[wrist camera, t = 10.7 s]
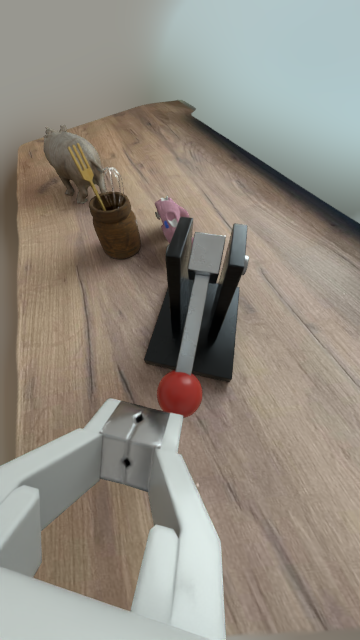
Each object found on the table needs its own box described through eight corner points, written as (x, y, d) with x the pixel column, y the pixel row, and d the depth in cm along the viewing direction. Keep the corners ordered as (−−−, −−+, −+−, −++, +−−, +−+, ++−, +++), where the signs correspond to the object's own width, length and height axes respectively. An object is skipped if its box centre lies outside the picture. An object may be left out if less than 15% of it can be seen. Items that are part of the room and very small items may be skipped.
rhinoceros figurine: (73, 208, 31) (18, 80, 25) (73, 222, 43) (34, 137, 36) (118, 199, 34) (78, 82, 28) (106, 214, 45) (76, 134, 39)
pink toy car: (168, 231, 35) (145, 196, 29) (190, 217, 33) (171, 178, 28) (180, 268, 30) (156, 236, 24) (206, 254, 29) (188, 216, 23)
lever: (197, 413, 15) (197, 432, 12) (157, 403, 15) (147, 419, 12) (227, 255, 16) (234, 233, 13) (189, 249, 16) (187, 227, 13)
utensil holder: (124, 265, 28) (91, 169, 18) (94, 250, 30) (49, 153, 20) (149, 244, 31) (133, 148, 20) (120, 230, 32) (92, 136, 22)
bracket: (229, 382, 19) (282, 327, 9) (145, 363, 21) (111, 295, 10) (237, 292, 25) (274, 200, 15) (172, 281, 26) (167, 188, 16)
